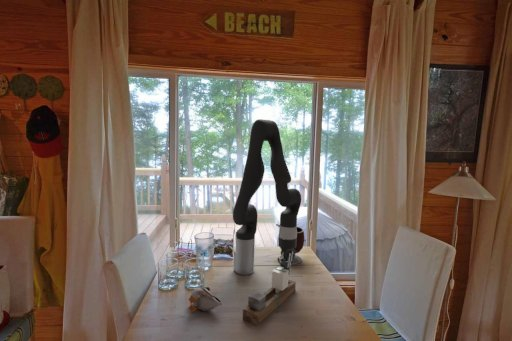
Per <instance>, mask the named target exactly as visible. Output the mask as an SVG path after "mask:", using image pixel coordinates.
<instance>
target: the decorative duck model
mask: <svg viewBox="0 0 512 341" xmlns="http://www.w3.org/2000/svg"><path fill="white" fill-rule="evenodd" d="M210 290H211V288H210V287H209V286H204V287H198V288H195V289H194V290H193V291H192V292H191V295H190V297H189V298H188V301H189V303H190V305H189V307H188V310H189V311H190V312H189V313H193V312H195V311H196V310H197V309H198V310H200V311H202V312H203V311H204V312H205V311H210V310H214V309H217V308H218V307H220V306H222V302H221V299H219V298H218V297H216V296H215V295H214V294H212V293H211V292H210Z"/></svg>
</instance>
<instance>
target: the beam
mask: <svg viewBox="0 0 512 341" xmlns="http://www.w3.org/2000/svg"><path fill="white" fill-rule="evenodd" d="M296 286H297V283H296V281H294V280H290V279H288V287H287V288H285V289H284V290H283V291H279V292H278V293H275V288H272V286H271V287H270V288H269V289H267V290H265V291H264V292H263V293H259V292H257V291H253V292H252V293H251V294H249V295H248V296H247V297H248V302H247V303H248V305H247V306H245V307H244V308H242V320H243V321H245V322H248V323H250V324H252V325H254V326H258V325H259V324H260V323H261V322H262V321H263V320H264V319H266V318H267V317H268V316H269V315H270V314H271V313H272V312H273V311H275V310H276V308H278V307H279V306H280V305H281V304H283V302H284V301H286V300H287V299H288V298H289V297H290V296H291V295H292V294H294V292H296Z"/></svg>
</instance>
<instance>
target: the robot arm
mask: <svg viewBox="0 0 512 341" xmlns="http://www.w3.org/2000/svg"><path fill="white" fill-rule="evenodd" d="M279 129H280V128H279V126H278V124H277V123H276V122H275V121H274V120H270V119H256V120H255V121H254V122H253V123H252V126H251V131H250V134H249V135H250V136H249V144H248V151H247V157H246V162H245V165H244V169H243V174H242V179H241V184H240V188H239V192H238V195H237V198H236V201H235V204H234V207H233V210H232V220H233V222H234V224H235V225H237V226H240V228H239V229H237V230H236V232H235V251H233V271H234V272H235V273H236V274H238V275H243V276H244V275H245V276H246V275H251V274H253V273H254V272H255V271H254V270H255V243H256V242H255V240H256V239H255V238H256V237H255V236H256V234H257V226H258V209H257V208H256V206H255V205H254V204H250V202H251V200H252V198H253V197H254V195H255V194H256V192H257V191H258V190H259V188H260V186H261V185H262V184H263V183H262V182H263V179H264V175H265V170H266V169H265V163H264V160H263V156H262V152H263V151H262V150H263V145H264V142H268V145H269V148H270V151H271V152H270V153H271V154H270V155H271V156H270V162H269V163H270V171H271V174H272V177H273V180H274V184H275V195H276V200H277V203H278V204H279V205H280V206H281V207H283V208H285V209H284V210H282V211H281V213H280V215H279V217H280V218H279V225H280V227H278V238H279V240H278V247H279V248H280V250H281V251H280V256H281V257H280V256H278V257H277V262H278V264H279V267H280V268H284V269H287V270H289V274H290V272H291V271H290V268H291V267H292V266H291V265H293V264H292V263H293V260H294V257H295V255H296V254H297V253H296V251H295V250H293V249H294V248H296V243H297V227H298V215H299V211H300V207H301V204H302V194H301V192H300V191H299V189H297V188H289V187H288V186H289V185H288V184H289V183H291V181H292V177H291V173H290V171H289V168H288V164H287V163H286V159H285V154H284V149H283V144H282V139H281V135H280V134H281V133H280V130H279ZM279 257H280V258H279Z"/></svg>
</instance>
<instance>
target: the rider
mask: <svg viewBox="0 0 512 341" xmlns="http://www.w3.org/2000/svg"><path fill="white" fill-rule="evenodd" d="M271 273H272V274H271V287H272V288H275V293H278V292H279V291H283V290H284V289H285V288H287V287H288V280H289V279H290V278H289V276H290V273H289V270H287V269H284V267H281V266H277V267H275V268H274V269H273V270H272V272H271Z"/></svg>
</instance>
